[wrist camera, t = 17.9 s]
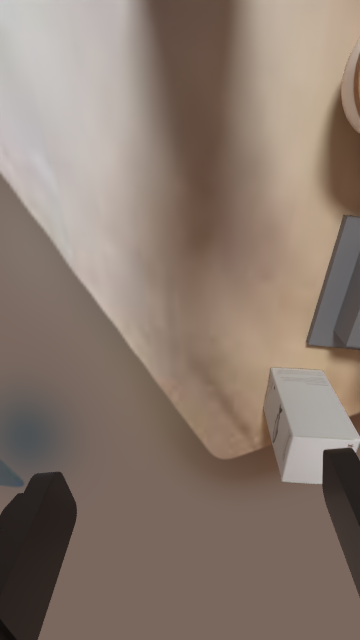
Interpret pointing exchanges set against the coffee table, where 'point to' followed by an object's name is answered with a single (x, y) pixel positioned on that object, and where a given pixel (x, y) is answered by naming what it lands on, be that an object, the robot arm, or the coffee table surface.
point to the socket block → (340, 293)
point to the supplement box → (305, 423)
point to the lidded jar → (352, 88)
